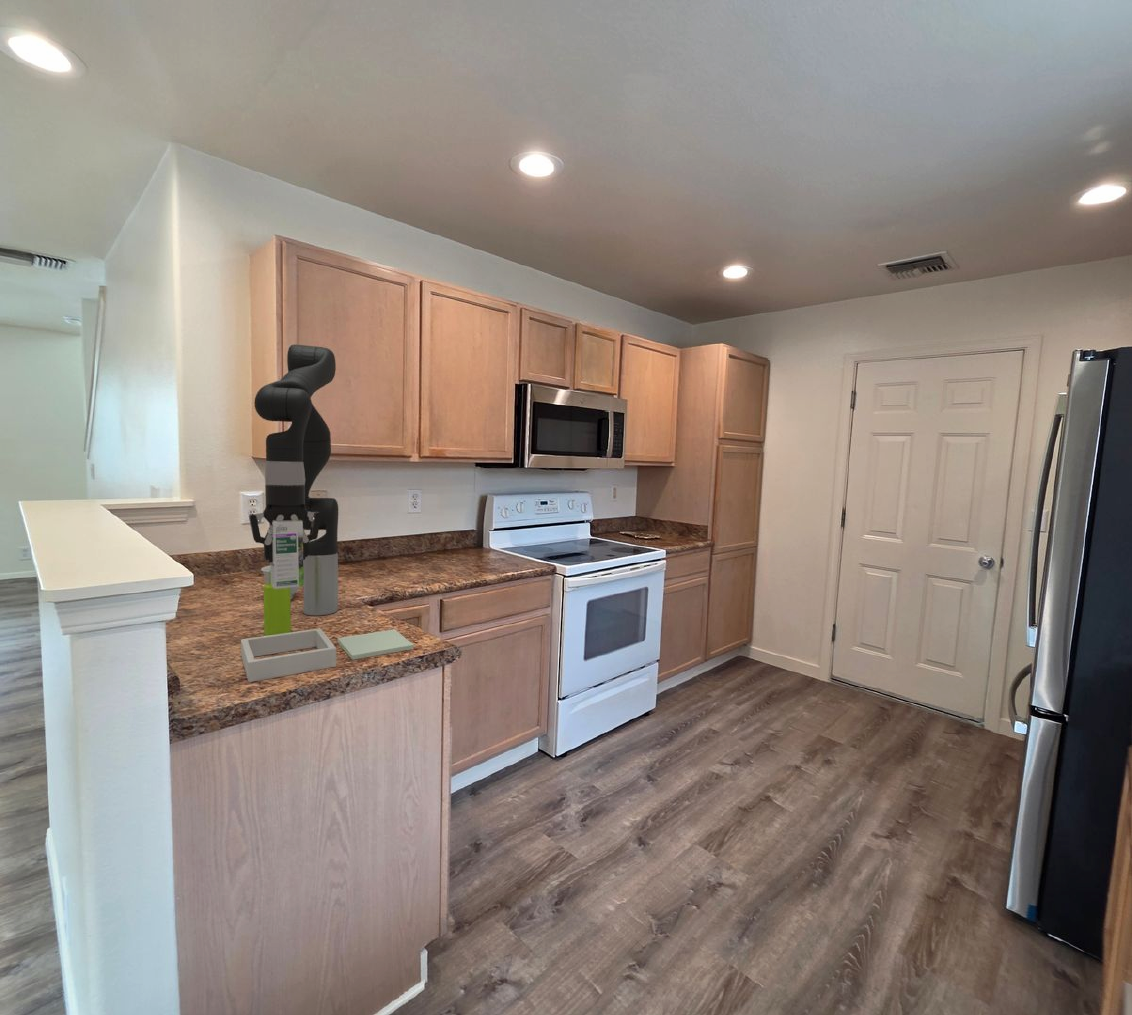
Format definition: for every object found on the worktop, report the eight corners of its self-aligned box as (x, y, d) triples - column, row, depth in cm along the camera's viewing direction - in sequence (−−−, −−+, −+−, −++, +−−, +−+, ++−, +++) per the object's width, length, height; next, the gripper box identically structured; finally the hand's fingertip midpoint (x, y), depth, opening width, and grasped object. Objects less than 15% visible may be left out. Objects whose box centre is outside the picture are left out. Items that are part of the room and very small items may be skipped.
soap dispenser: (299, 635, 136) (298, 557, 134) (269, 641, 131) (268, 560, 129) (289, 630, 140) (288, 553, 138) (260, 636, 135) (259, 556, 133)
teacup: (264, 607, 160) (263, 574, 159) (260, 596, 173) (259, 565, 172) (308, 602, 167) (308, 570, 166) (301, 592, 179) (301, 562, 178)
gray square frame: (241, 656, 121) (241, 639, 120) (320, 644, 130) (320, 628, 130) (248, 682, 107) (248, 662, 107) (336, 666, 117) (336, 648, 116)
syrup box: (274, 590, 113) (273, 521, 112) (270, 584, 118) (268, 518, 117) (304, 587, 117) (303, 520, 115) (298, 581, 121) (298, 517, 120)
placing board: (337, 642, 132) (337, 638, 132) (394, 632, 140) (394, 629, 140) (352, 659, 121) (352, 655, 121) (413, 648, 129) (413, 644, 129)
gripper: (318, 481, 123) (318, 555, 124) (244, 481, 114) (246, 560, 116) (325, 483, 116) (325, 560, 118) (248, 483, 108) (249, 566, 110)
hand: (286, 560), depth 117 cm, fingers closed on syrup box, 5 cm apart
